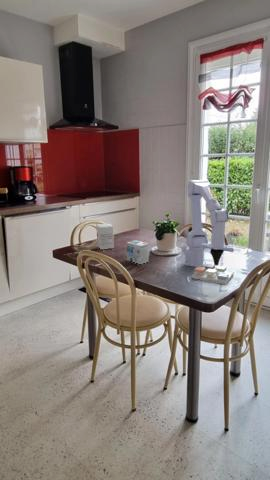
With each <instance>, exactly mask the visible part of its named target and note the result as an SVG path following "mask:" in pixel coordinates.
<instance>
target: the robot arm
mask: <svg viewBox="0 0 270 480" xmlns="http://www.w3.org/2000/svg"><path fill="white" fill-rule="evenodd" d="M186 188H187V191H186V192H187V197H188V198H190V209H191V211H190V212H191V226H192V230H191V231H190V232H189V231H188V233H187V234H186V235H187V236H186V237H187V238H186V245H187V247H186V248H185V252H184V265H185V266H190V267H193V268H194V267H195V268H196V267H204V266H205V265H206V264H207V262H205V261H204V259H205V257H204V256H205V249H207V250H210V251H209V253H210V255H211V257H212V260H213V265H215V267H217V266H219V263H220V259H221V258H222V256H223V254H224V252H230V253H234V252H235V247H234V246H229V245H225V237H226V236H225V235H226V234H225V233H226V223H227V222H228V221H229V212H228V210H227V208H224V207H222V206H221V204H220V202H219V201H218V199H217V198H215V197H214V196H213V195H212V192H211V183H210V181H209V180H208V179H199V180H198V179H197V180H196V179H195V180H193V179H190V180H189V181H188V182H187V186H186ZM202 198H203V199H204V201H205V207H206V210H207V211H208V213H209V220H210V226H211V234H210V235H211V236H210V237H211V241H210V243H209V239H208V234H207V232H206V231H204V230H203V224H202V223H203V222H202V205H201V204H202V203H201V201H202V200H201V199H202ZM195 235H201V236H195Z"/></svg>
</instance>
